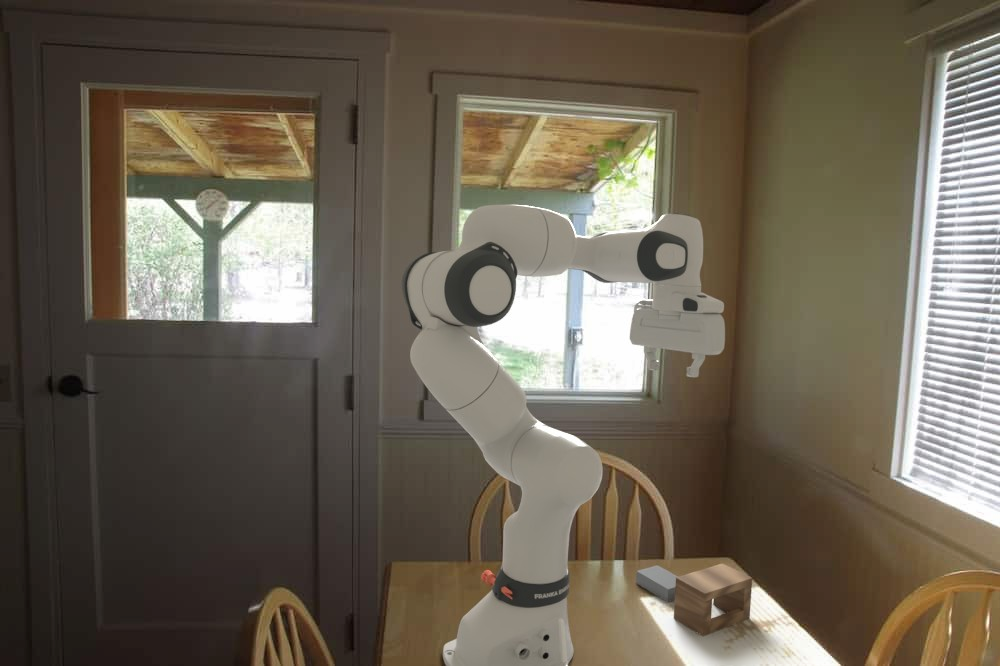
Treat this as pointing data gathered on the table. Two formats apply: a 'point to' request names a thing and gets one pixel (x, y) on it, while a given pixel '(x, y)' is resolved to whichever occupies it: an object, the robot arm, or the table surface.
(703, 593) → the shelf
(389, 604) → the table surface
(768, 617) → the table surface
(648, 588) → the grey rectangular block
